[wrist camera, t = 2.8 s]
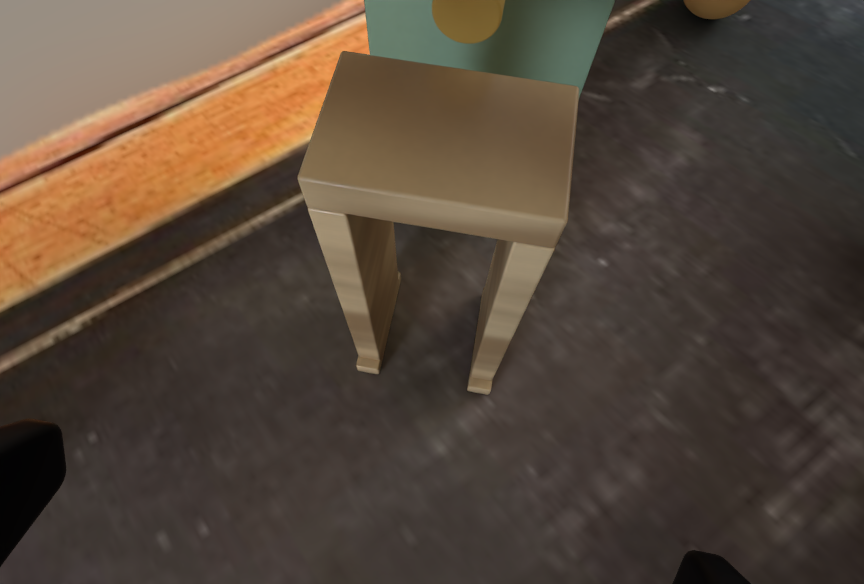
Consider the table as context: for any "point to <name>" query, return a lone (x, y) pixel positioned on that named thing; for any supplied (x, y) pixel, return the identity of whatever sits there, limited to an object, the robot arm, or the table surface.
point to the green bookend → (492, 35)
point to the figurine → (714, 7)
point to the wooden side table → (438, 186)
